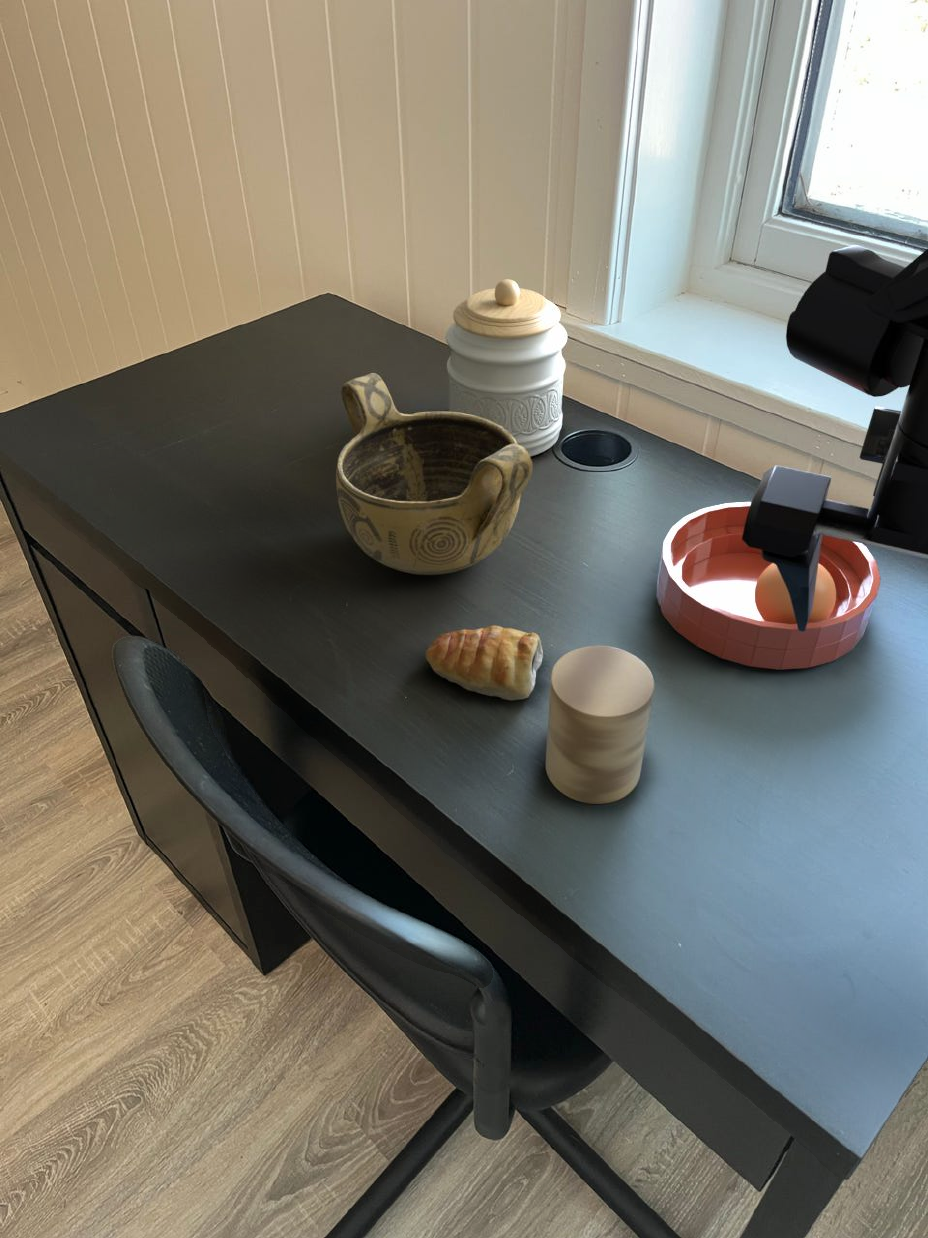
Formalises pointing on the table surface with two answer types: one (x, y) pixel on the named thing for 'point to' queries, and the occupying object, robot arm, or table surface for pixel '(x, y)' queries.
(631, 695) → the wooden cylinder
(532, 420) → the jar
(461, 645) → the pastry
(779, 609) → the peach
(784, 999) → the table surface
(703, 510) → the bowl
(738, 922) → the table surface
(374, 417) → the ceramic bowl
